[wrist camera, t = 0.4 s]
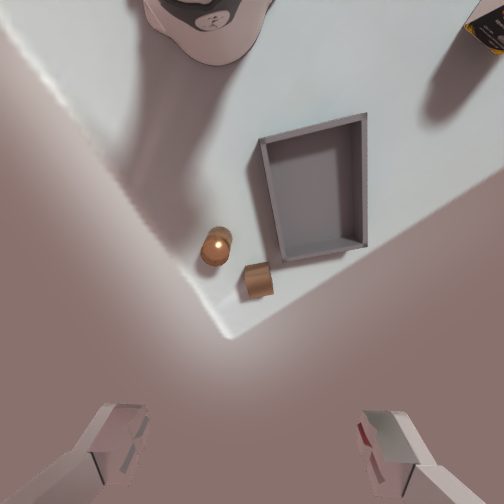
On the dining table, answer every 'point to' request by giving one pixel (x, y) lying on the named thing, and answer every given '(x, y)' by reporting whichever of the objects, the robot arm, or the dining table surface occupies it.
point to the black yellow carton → (488, 24)
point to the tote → (319, 187)
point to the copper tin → (217, 246)
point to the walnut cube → (258, 280)
